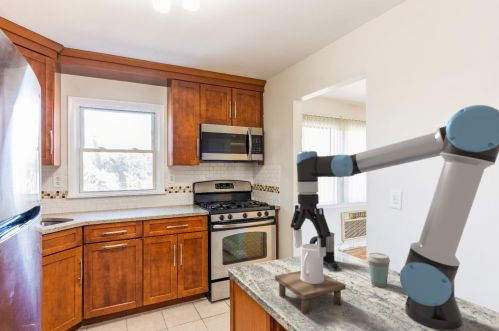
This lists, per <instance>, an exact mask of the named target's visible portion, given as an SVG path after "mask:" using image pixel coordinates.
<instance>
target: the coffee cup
mask: <svg viewBox="0 0 499 331" xmlns="http://www.w3.org/2000/svg"><path fill="white" fill-rule="evenodd" d="M366 259H367V261H368V270H369V276H370V283H371V285H372V286H374V287H377V288H386V287H387V286H388V279H389V268H390V263H391V259H390V256H389V255H387V254H385V253H383V252H382V253H380V252H370V253H368V256H367V258H366Z"/></svg>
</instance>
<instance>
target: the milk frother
mask: <svg viewBox="0 0 499 331" xmlns="http://www.w3.org/2000/svg"><path fill="white" fill-rule="evenodd" d="M326 233H327V232H326ZM316 234H317V235H316V236H315V235H314V236H313V237H311V238H310V240H309V244H316V245H318V237H319V235H318V233H317V232H316ZM321 234H322V233H321ZM330 234H331V236H329V237H326V256H323V265H328V266H330V267H332V268H333V269H334V270H337V269H340V265H339V264H338V262H336V260H335V234H336V233H335V232H331V231H330Z"/></svg>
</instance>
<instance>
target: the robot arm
mask: <svg viewBox="0 0 499 331" xmlns="http://www.w3.org/2000/svg"><path fill="white" fill-rule="evenodd" d="M440 156H441V157H442V159H443V160H444V163H443V165H442V168H441V172H440V175H439V178H438V181H437V183H436V187H435V190H434V193H433V197H432V200H431V203H430V206H429V209H428V211H427V215H426V219H425V221H424V225H423V227H422V231H421V234H420V237H419V240H418V241H417V242H412V243H411V244H410V247H409V251H408V254H407V257H406V261H405V263H404V266H403V267H402V269H401V270H400V273H399V281H400V282H399V283H400V285H401V287H402V289H403V291H404V292H405V294H406V295H407V298H406V301H405V306H404V308H405V309H404V310H405V314H406V315H407V317H409V318H410V319H411V320H413V321H415V322H417V323H419V324H421V325H423V326H426V327H430V328H433V329H436V330H437V329H438V330H446V331H453V330H454V331H455V330H458V329H461V328H462V327H463V317H462V316H463V315H462V313H461V310H460V308H459V305H458V303H457V300H456V297H455V296H456V295H455V278H456V275H457V273H458V270H459V267H460V264H461V263H460V261H459V259H458V258H457V255H456V254H457V251H458V247H459V245H460V242H461V239H462V236H463V232H464V230H465V227H466V224H467V221H468V218H469V216H470V213H471V210H472V207H473V204H474V202H475V199H476V195H477V192H478V190H479V186H480V184H481V180H482V178H483V174H484V171H485V169H487V168H489V167H491V166H493V165H495V164H496V160H497V158H498V156H499V109H497V108H495V107H493V106H489V105H486V104H485V105H484V104H476V105H469V106H466V107H464V108H461V109H459V110H458V111H457V112H455V113H454V114H453V115H452V116H451V117H450V119H449V120H448V122H447V123H446V126H442V127H438V128H437V130H436V131H435V132H432V133H429V134H424V135H420V136H417V137H413V138H409V139H406V140H402V141H398V142H395V143H391V144H386V145H384V146H380V147H377V148H373V149H367V150H365V151H364V150H363V151H361V152H357V153H353V154H350V155H349V154H333V155H323V156H322V155H318V152H317V151H314V150H304V151H299V152H298V153H297V154H296V173H297V174H296V176H297V177H296V178H297V183H296V186H297V191H296V192H297V193H298V194H297V204H296V205H294V213H293V217H292V219H291V223H290V228H291V229H293V232H294V248H295V249H297V248H301V245H303V235H302V234H303V232H302V226H303V225H304V222H305V221H306V219H307V220H309V221H310V222H311V223H312V225H313V227H314V229H315V231H316V234H317V233H318V235H319V237H318V257H323V256H326V237H329V236H331V234H330V232H331V231H330V229H329V226H328V222H327V219H326V216H325V213H324V212H325V211H324V208H323V207H319V208H318V206H317V205H318V204H319V200H320V198H319V197H320V196H319V193H318V192H319V178H344V177H346V178H347V177H353V176H355V175H359V174H363V173H368V172H372V171H377V170H382V169H385V168H389V167H395V166H399V165H404V164H409V163H413V162H418V161H422V160H427V159H431V158H436V157H440ZM326 232H327V233H326ZM321 233H322V234H321Z"/></svg>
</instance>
